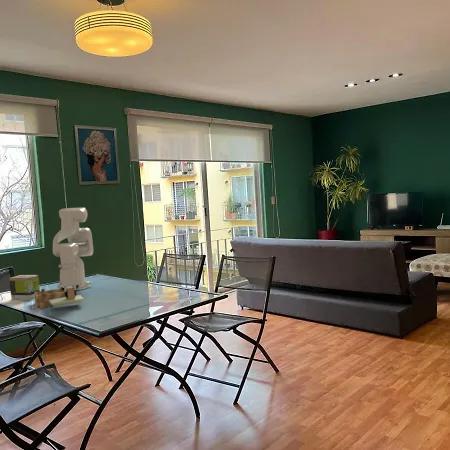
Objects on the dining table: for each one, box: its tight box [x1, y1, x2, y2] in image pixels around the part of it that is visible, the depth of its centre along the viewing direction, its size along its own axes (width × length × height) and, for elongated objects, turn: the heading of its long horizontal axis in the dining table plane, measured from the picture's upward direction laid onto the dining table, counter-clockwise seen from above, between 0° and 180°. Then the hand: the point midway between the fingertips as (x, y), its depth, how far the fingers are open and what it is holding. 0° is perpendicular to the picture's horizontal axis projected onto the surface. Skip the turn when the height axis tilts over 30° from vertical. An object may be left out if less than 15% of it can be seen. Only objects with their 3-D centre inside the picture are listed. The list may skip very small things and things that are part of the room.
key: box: [40, 288, 47, 297], centre depth 257 cm, size 2×10×3 cm, turn 28°
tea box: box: [8, 274, 41, 301], centre depth 287 cm, size 15×10×15 cm, turn 71°
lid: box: [49, 286, 85, 308], centre depth 259 cm, size 18×12×8 cm, turn 118°
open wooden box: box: [34, 288, 65, 309], centre depth 270 cm, size 18×16×8 cm
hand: (70, 297), depth 260 cm, fingers closed on lid, 3 cm apart
